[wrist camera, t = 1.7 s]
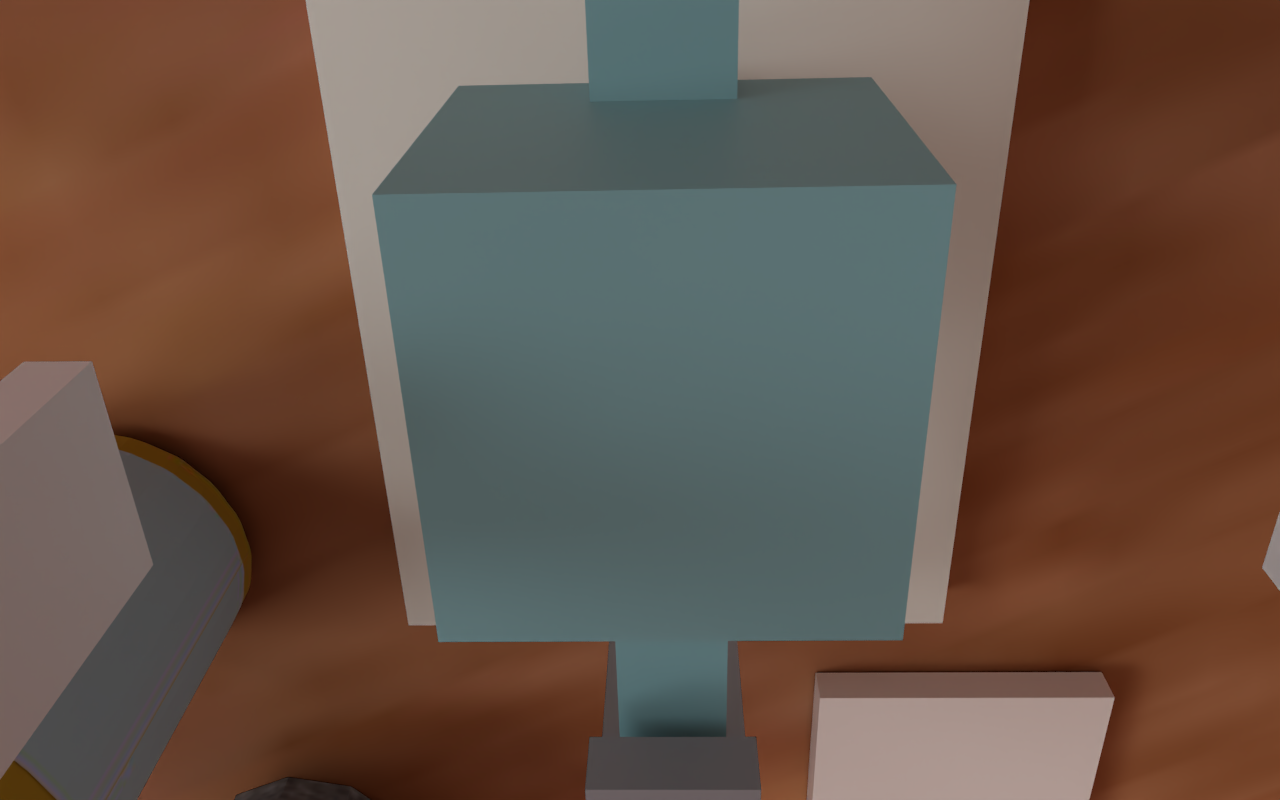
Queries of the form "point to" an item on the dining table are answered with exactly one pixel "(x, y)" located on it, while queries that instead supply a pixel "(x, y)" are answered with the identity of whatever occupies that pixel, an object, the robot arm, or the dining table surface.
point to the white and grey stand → (767, 49)
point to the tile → (957, 735)
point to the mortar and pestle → (301, 791)
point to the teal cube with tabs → (667, 355)
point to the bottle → (143, 642)
